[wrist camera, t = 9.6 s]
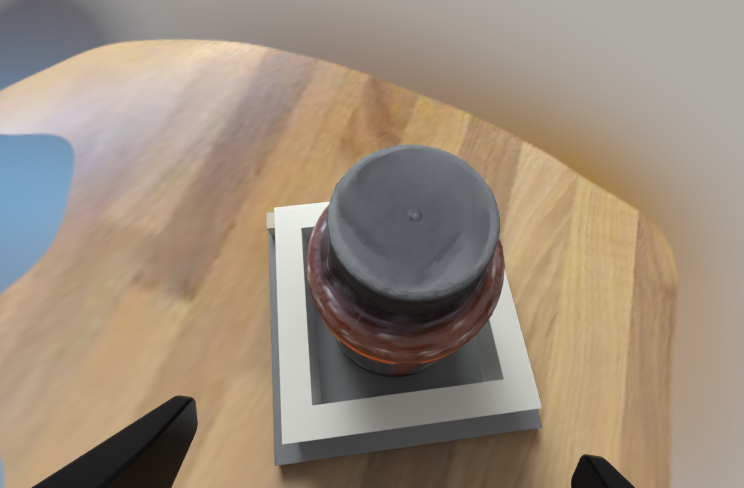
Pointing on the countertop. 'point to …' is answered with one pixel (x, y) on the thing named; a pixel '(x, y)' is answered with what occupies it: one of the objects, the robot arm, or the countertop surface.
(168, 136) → the countertop surface
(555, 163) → the countertop surface
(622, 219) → the countertop surface
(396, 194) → the supplement bottle
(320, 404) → the socket holder
